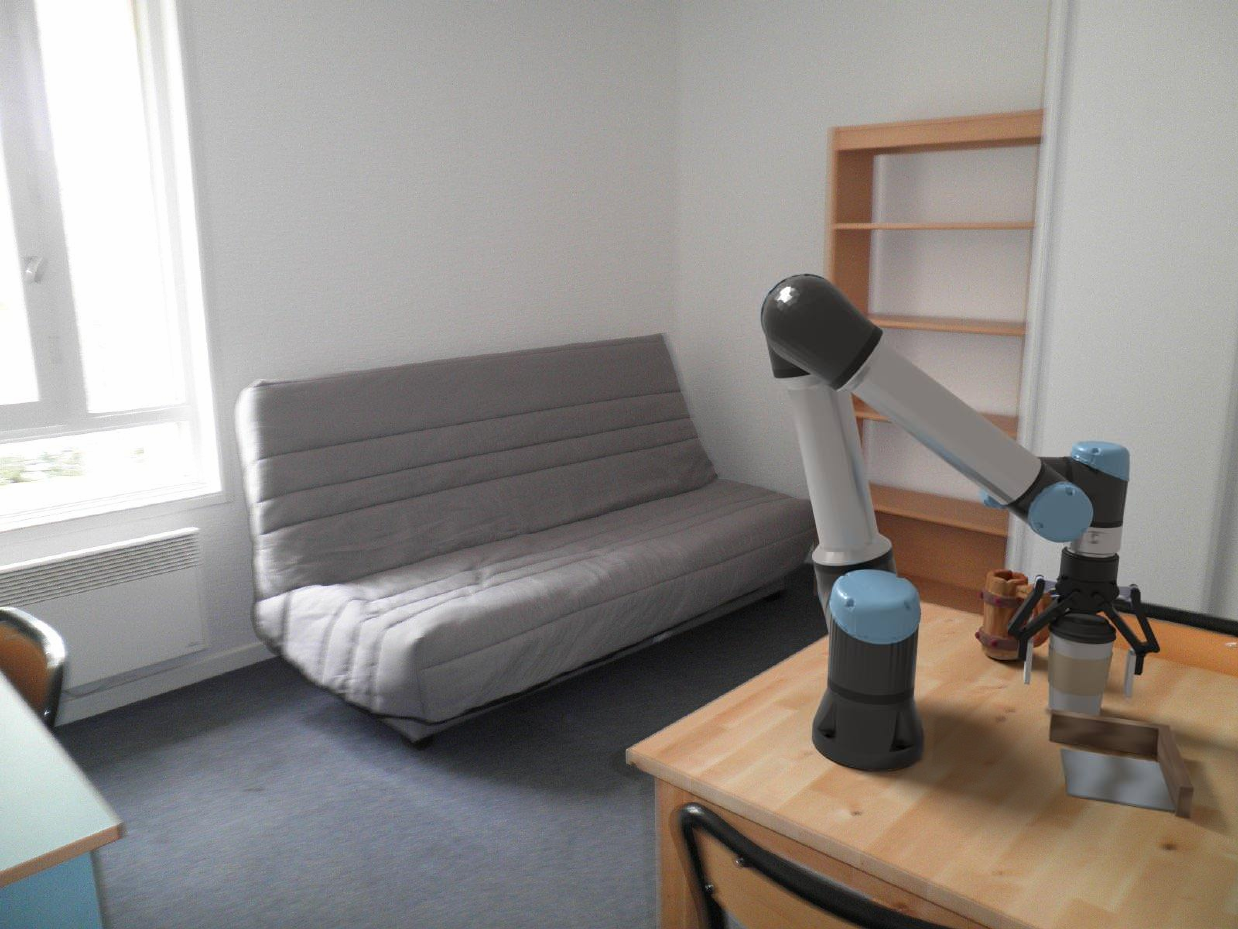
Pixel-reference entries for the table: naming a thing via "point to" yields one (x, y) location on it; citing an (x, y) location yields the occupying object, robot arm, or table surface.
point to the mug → (1006, 613)
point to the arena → (1123, 762)
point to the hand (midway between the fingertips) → (1075, 687)
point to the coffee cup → (1079, 661)
